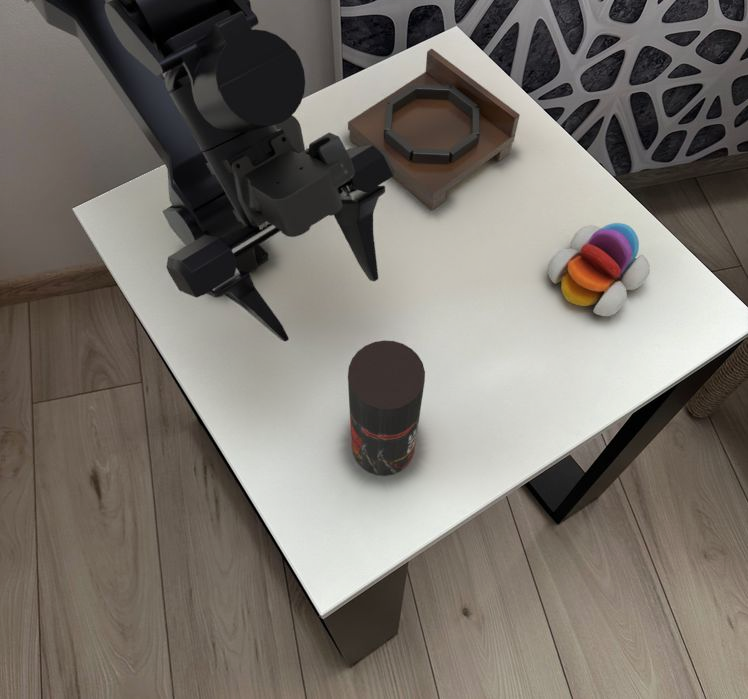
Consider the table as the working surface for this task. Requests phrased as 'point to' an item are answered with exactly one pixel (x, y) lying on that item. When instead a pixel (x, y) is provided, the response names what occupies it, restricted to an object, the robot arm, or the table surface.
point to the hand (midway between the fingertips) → (330, 309)
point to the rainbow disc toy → (600, 267)
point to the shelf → (437, 129)
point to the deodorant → (385, 405)
